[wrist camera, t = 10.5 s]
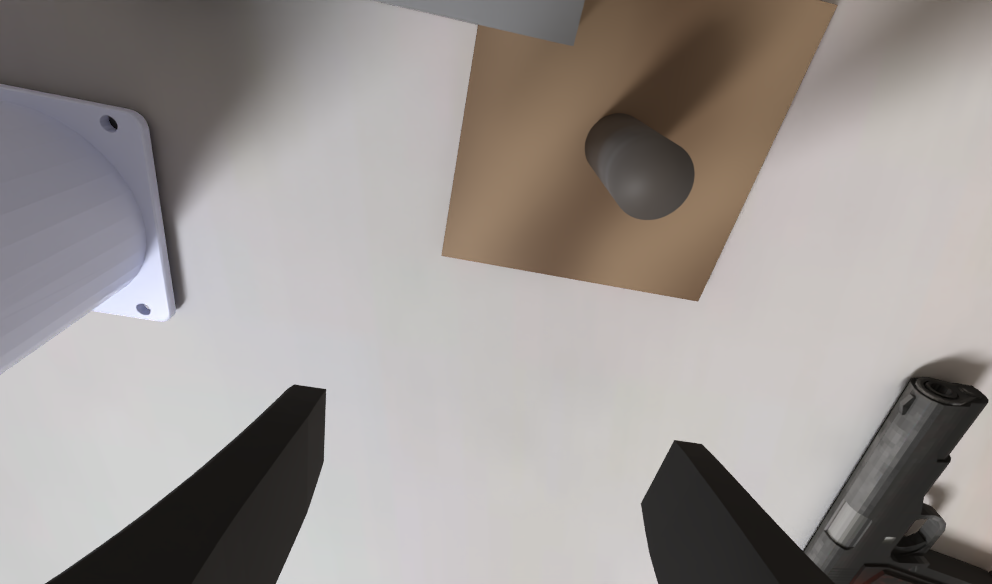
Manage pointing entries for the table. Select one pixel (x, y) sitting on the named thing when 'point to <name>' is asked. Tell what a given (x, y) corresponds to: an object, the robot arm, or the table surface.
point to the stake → (625, 138)
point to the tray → (509, 15)
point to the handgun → (900, 495)
